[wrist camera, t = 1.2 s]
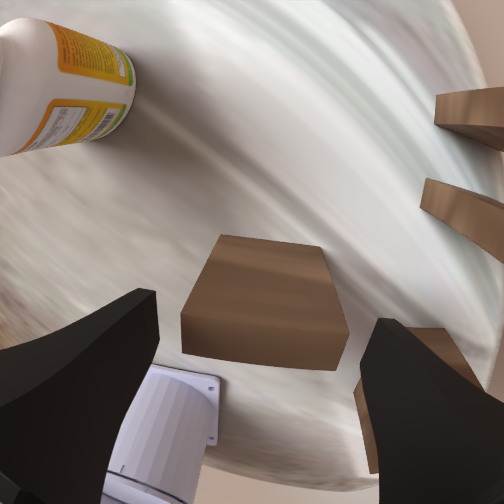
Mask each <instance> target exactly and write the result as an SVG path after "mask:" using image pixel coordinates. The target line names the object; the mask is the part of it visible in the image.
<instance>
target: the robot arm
mask: <svg viewBox="0 0 504 504" xmlns="http://www.w3.org/2000/svg"><path fill="white" fill-rule="evenodd" d="M159 341H160V336H159V326H158V314H157V302H156V291H154V290H148V289H142V288H137V289H135V290H133V291H131V292H129V293H127V294H125V295H124V296H122V297H120V298H118V299H117V300H115V301H113V302H111V303H109V304H108V305H106V306H104V307H102V308H100V309H99V310H97V311H95V312H93V313H92V314H90V315H88V316H86V317H84V318H82V319H80V320H78V321H76V322H74V323H72V324H70V325H68V326H66V327H64V328H62V329H60V330H58V331H55V332H53V333H51V334H48V335H46V336H43V337H40V338H38V339H35V340H32V341H30V342H26V343H23V344H20V345H16V346H13V347H10V348H6V349H2V350H0V504H193V503H194V498H195V494H196V489H197V484H198V480H199V475H200V471H201V466H202V461H203V457H204V452H205V448H206V445H210V446H215V445H217V442H218V418H219V396H220V380H219V379H218V378H217V377H215V376H210V375H204V374H198V373H193V372H187V371H182V370H177V369H172V368H168V367H163V366H158V365H154V364H152V361H153V358H154V356H155V353H156V350H157V347H158V344H159ZM360 371H361V380H362V388H363V393H364V397H365V401H366V405H367V409H368V413H369V417H370V421H371V425H372V429H373V434H374V438H375V442H376V448H377V455H378V468H379V504H504V403H503V402H501V401H499V400H498V399H496V398H494V397H492V396H491V395H489V394H487V393H486V392H484V391H483V390H481V389H480V388H478V387H477V386H475V385H474V384H473V383H471V382H470V381H468V380H467V379H466V378H464V377H463V376H462V375H460V374H459V373H458V372H457V371H455V370H454V369H453V368H452V367H450V366H449V365H448V364H447V363H446V362H444V361H443V360H442V359H441V358H440V357H439V356H437V355H436V354H435V353H434V352H433V351H432V350H431V349H430V348H428V347H427V346H426V345H425V344H424V343H423V342H422V341H421V340H419V339H418V338H417V337H416V336H415V335H414V334H413V333H411V332H410V331H409V330H408V329H407V328H406V327H404V326H403V325H402V324H401V323H399V322H398V321H397V320H395V319H388V318H378V320H377V323H376V325H375V328H374V330H373V333H372V335H371V338H370V340H369V343H368V345H367V348H366V350H365V352H364V355H363V357H362V359H361V362H360Z"/></svg>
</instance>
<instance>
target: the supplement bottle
mask: <svg viewBox="0 0 504 504" xmlns="http://www.w3.org/2000/svg"><path fill="white" fill-rule="evenodd" d="M135 89H136V76H135V71H134V67H133V65H132V62H131V61H130V59H129V57H128V56H127V55H126V54H125V53H124V52H122V51H121V50H120V49H118V48H116V47H114V46H112V45H109V44H107V43H105V42H102V41H99V40H97V39H94V38H92V37H89V36H87V35H84V34H81V33H79V32H76V31H73V30H70V29H68V28H65V27H62V26H59V25H56V24H53V23H50V22H46V21H43V20H39V19H34V18H19V19H15V20H13V21H10V22H8V23H6V24H5V25H3V26H2V27H0V157H4V156H9V155H14V154H18V153H22V152H27V151H32V150H37V149H42V148H48V147H54V146H60V145H66V144H73V143H80V142H87V141H92V140H96V139H99V138H101V137H103V136H105V135H107V134H109V133H110V132H112V131H113V130H114V129H115V128H116V127H117V126H118V125H119V124H120V123H121V122H122V120H123V119H124V118H125V116H126V115H127V113H128V111H129V109H130V107H131V105H132V102H133V99H134V95H135Z"/></svg>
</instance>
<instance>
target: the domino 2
mask: <svg viewBox="0 0 504 504" xmlns="http://www.w3.org/2000/svg"><path fill="white" fill-rule="evenodd" d="M353 393H354V397H355V402H356V406H357V411H358V415H359V420H360V425H361V430H362V435H363V440H364V445H365V450H366V455H367V461H368V466H369V472H370V474H376V473H379V468H378V455H377V448H376V442H375V438H374V434H373V429H372V425H371V421H370V417H369V413H368V409H367V405H366V401H365V397H364V393H363V388H362V380H361V378H360V380H359V382H358V384H357V386H356V388H355V390H354V392H353Z"/></svg>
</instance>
